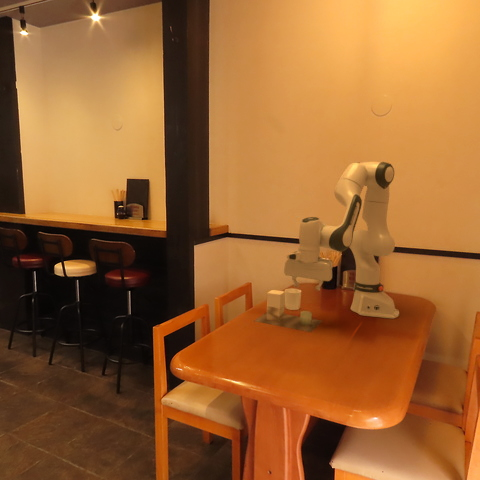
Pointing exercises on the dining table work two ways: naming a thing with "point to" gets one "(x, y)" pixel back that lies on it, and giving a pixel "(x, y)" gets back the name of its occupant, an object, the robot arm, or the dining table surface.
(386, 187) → the robot arm
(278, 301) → the tower top block
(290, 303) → the white cup
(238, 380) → the dining table surface
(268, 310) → the tower base block
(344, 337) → the dining table surface
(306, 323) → the green cylinder
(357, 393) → the dining table surface
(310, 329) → the walnut board
